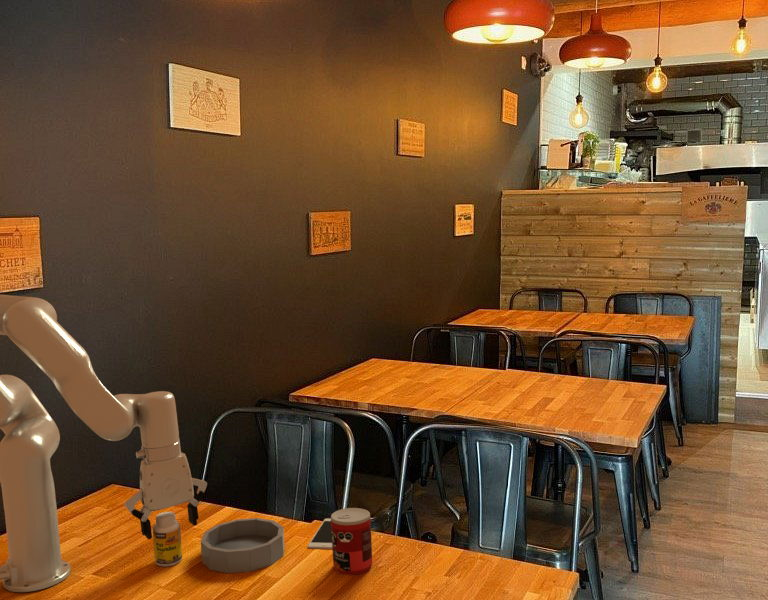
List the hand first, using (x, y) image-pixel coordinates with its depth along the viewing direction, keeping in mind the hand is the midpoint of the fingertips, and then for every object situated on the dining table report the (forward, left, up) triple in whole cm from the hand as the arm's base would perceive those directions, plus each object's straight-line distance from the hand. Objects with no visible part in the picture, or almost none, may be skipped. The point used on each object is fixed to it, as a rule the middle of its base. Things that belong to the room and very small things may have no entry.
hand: (171, 530), depth 159 cm
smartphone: (+33, -10, -7) cm, 35 cm away
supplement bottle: (-1, 0, -7) cm, 7 cm away
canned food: (+28, -27, -7) cm, 39 cm away
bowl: (+13, -7, -7) cm, 16 cm away
